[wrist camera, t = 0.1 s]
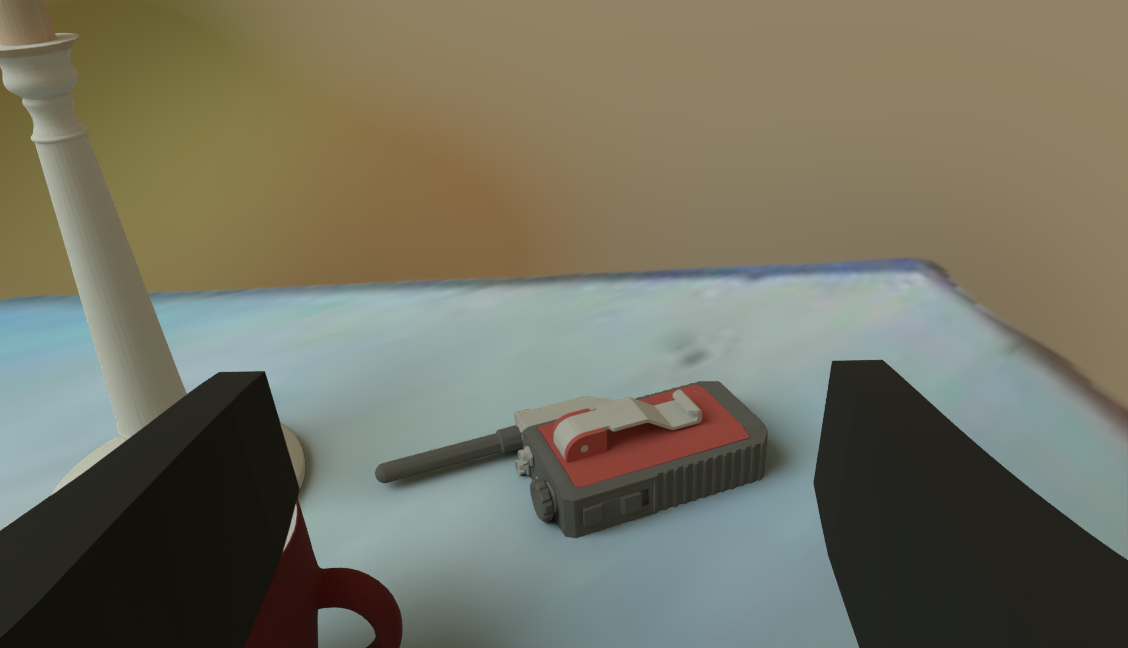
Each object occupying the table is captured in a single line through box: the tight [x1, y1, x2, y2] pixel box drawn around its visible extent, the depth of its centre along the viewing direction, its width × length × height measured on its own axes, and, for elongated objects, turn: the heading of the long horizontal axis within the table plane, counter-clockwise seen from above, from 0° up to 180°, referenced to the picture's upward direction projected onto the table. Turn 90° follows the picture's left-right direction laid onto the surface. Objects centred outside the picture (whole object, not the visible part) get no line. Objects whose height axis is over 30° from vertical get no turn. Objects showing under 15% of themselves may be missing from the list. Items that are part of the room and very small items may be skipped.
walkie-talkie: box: [375, 381, 768, 538], centre depth 43 cm, size 9×4×20 cm
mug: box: [244, 499, 402, 648], centre depth 29 cm, size 11×8×10 cm
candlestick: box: [0, 0, 306, 495], centre depth 37 cm, size 13×13×30 cm
